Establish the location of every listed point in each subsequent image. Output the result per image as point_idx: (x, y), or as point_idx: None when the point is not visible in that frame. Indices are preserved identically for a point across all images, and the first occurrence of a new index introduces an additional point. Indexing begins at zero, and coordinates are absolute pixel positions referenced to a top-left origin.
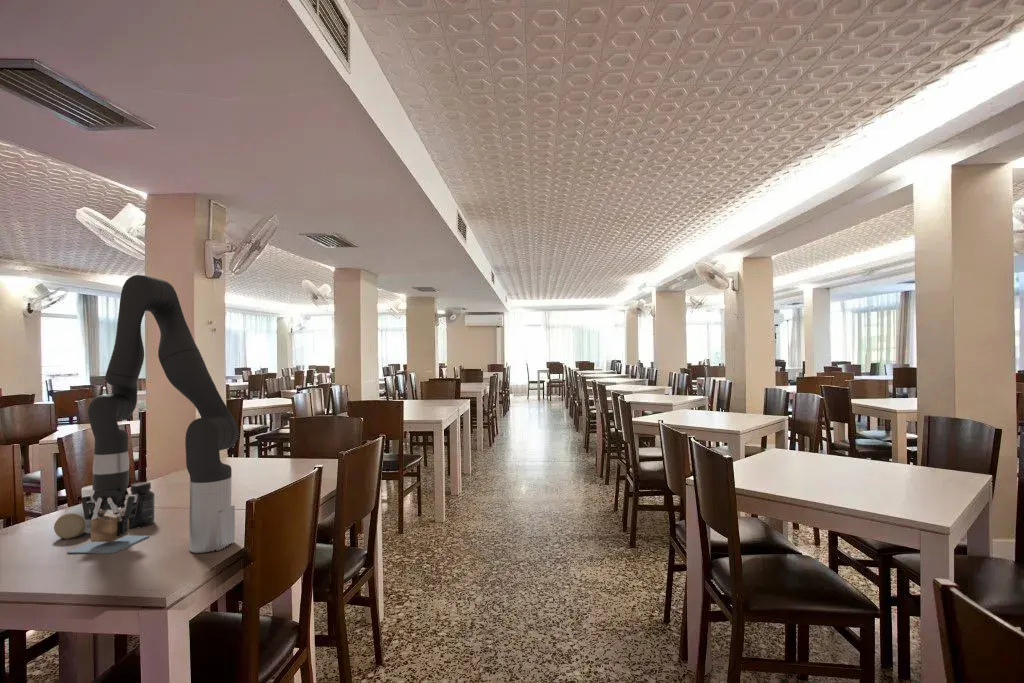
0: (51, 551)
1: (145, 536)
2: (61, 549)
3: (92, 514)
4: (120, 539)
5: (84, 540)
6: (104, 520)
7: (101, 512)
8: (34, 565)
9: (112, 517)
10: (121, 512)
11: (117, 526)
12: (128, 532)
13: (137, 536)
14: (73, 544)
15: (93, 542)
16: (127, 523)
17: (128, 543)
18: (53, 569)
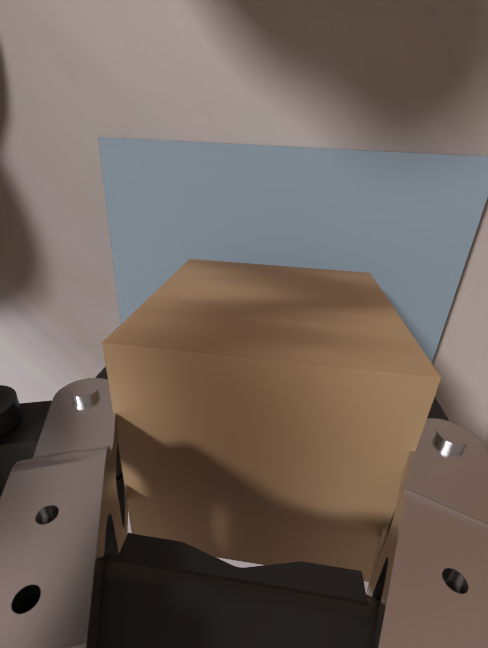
0: (19, 376)
1: (473, 183)
2: (39, 355)
3: (7, 476)
4: (290, 245)
5: (4, 199)
6: (278, 560)
7: (121, 528)
8: (129, 517)
9: (304, 507)
10: (397, 510)
11: None
12: (373, 278)
13: (394, 177)
14: (17, 277)
15: (139, 293)
16: (442, 412)
17: None
18: (247, 562)
